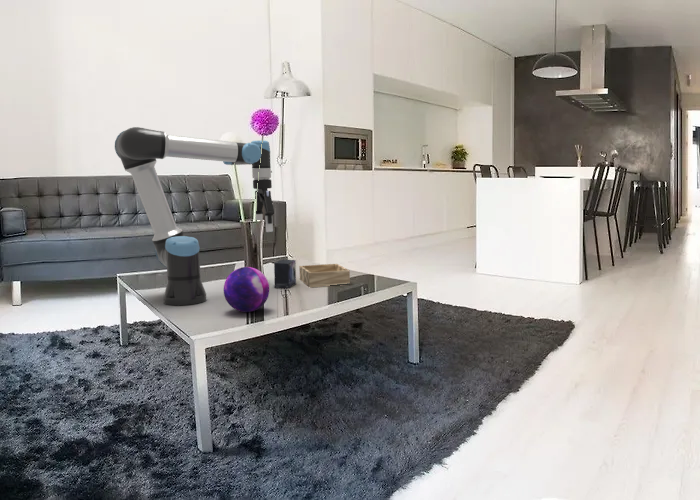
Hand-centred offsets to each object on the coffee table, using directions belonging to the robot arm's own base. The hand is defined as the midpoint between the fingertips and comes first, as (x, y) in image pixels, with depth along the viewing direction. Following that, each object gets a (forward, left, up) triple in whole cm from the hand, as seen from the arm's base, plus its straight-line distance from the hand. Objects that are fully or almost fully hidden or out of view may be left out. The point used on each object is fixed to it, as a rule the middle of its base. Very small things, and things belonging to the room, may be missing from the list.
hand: (264, 230), depth 237 cm
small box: (-5, -7, -23) cm, 25 cm away
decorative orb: (-47, +13, -23) cm, 54 cm away
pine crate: (-2, -24, -23) cm, 33 cm away
